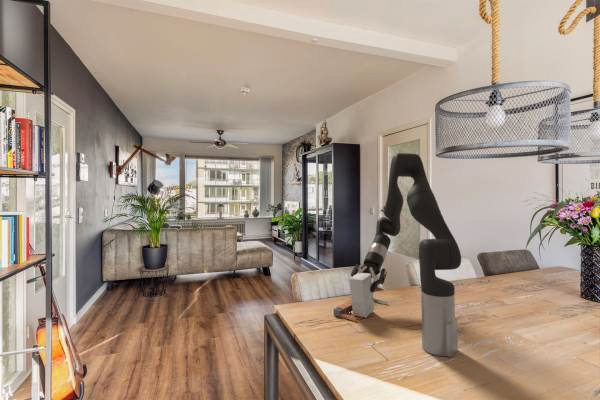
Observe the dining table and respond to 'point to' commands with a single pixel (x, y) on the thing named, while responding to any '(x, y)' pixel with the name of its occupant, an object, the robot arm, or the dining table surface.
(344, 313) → the rail
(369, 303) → the skincare box
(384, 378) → the dining table surface
